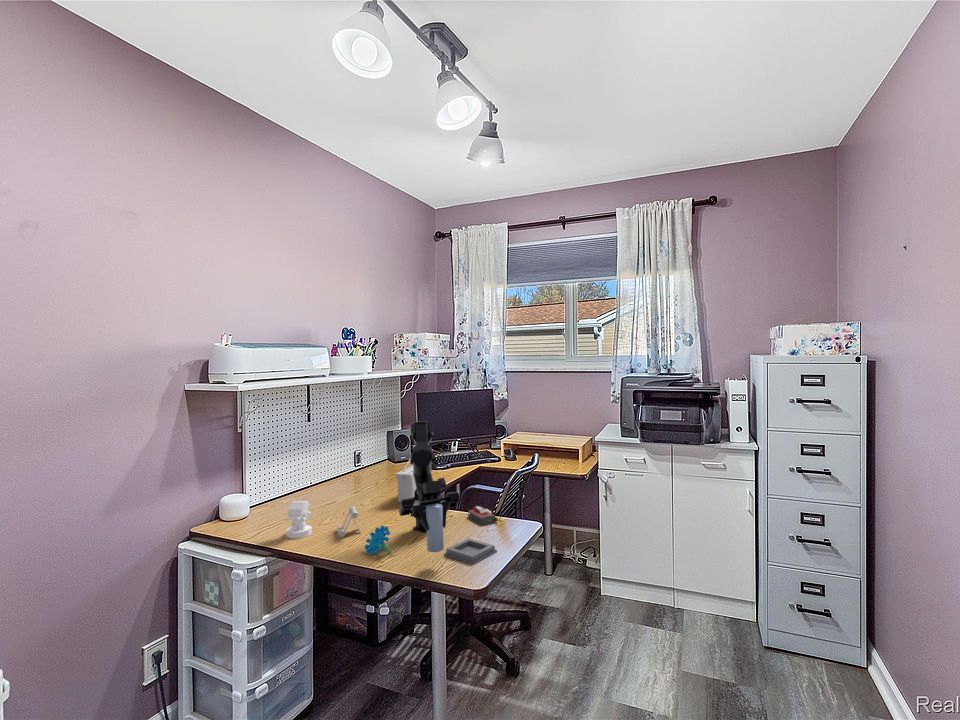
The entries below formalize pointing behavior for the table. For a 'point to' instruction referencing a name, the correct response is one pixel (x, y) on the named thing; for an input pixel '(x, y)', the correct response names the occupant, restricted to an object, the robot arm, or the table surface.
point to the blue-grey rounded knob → (434, 527)
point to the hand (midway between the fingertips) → (436, 528)
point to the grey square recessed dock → (470, 551)
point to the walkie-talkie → (481, 515)
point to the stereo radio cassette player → (406, 483)
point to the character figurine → (298, 519)
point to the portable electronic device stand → (353, 515)
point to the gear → (378, 541)
